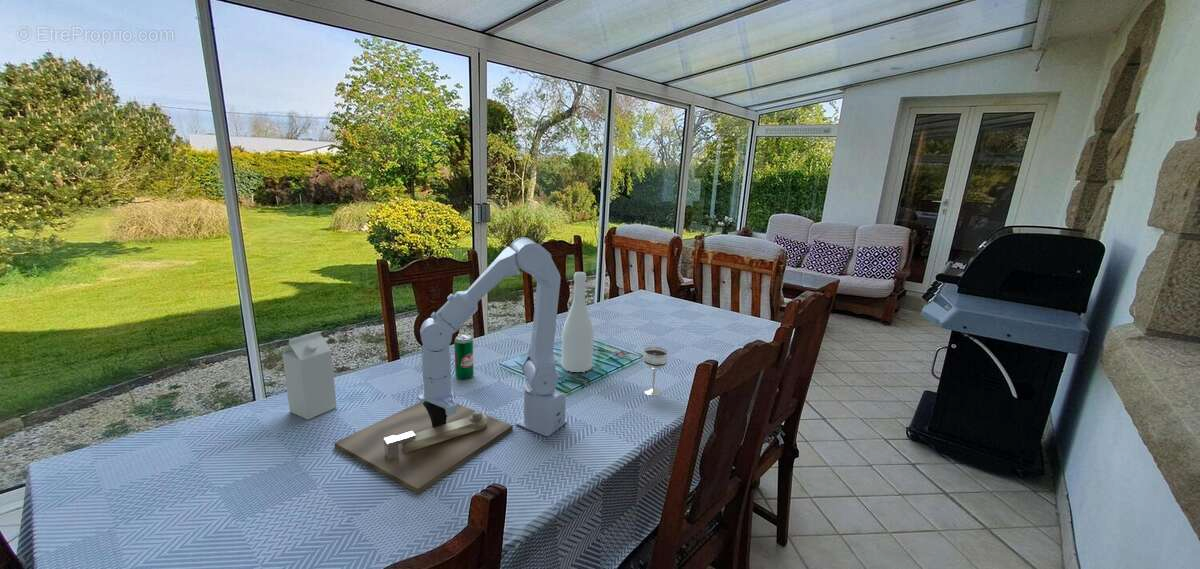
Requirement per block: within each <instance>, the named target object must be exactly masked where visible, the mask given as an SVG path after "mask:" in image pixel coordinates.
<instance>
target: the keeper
mask: <svg viewBox="0 0 1200 569" xmlns="http://www.w3.org/2000/svg"><path fill="white" fill-rule="evenodd" d="M413 439H416V435H415V434H414V432H413V431H410V432H407V433H404V434H400V435H397V436H395V435H392V436H389V437H386V438H384V449H385V456H386V458H387V459H388V461H389V460H392V459H395V458H398V457H399V450H398V444H401V443H404V442H407V441H410V440H413Z"/></svg>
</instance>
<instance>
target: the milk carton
mask: <svg viewBox="0 0 1200 569" xmlns="http://www.w3.org/2000/svg"><path fill="white" fill-rule="evenodd" d="M282 360H283V370H284V376H285V377H284V378H285V386H286V392H287V393H286V394H287V400H288V410H289V412H290V413H291V414H294V415H296V416H299V417H300V418H303V419H305V420H307V421H308V420H311V419H313V418H315V417H317V416H320V415H322V414H325V413H326V412H328V411H331V410H333V409H336V408H337V406H338V405H337V397H336V388H335V386H336V385H335V376H334V375H335V374H334V366H333V365H334V364H333V357H332V350H331V348H330V346H329V345H328V343H327V342H326V341H325V339H324V338H323V336H322V331H317V332H313V333H309V334H306V335H305V334H304V335H302V336H300V337H299V336H298V337H295V338H291V339H289V340H288V346H287V347H286V348H285V350H284V351H283V352H282Z"/></svg>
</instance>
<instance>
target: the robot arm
mask: <svg viewBox="0 0 1200 569" xmlns="http://www.w3.org/2000/svg"><path fill="white" fill-rule="evenodd" d="M552 257H553V256H552V253H550V252H549V251H548V250H547V249H545V248H544V247H543V246H542V245H541V244H539V243H536V242H535V241H534V240H532V239H531V238H528V237H525V236H524V237H523V236H521V237H517V238H516V239H515V240H513V241H512V242H511V244H510V246H507V247H505V248H504V249H503V250H502V251H501V252H500V254H499V255H497V257H496V258H495V259H494V260H493V261H492V262H491V263H490V264H489V266H488V267H487V268H486V269H485V270H484V271H483V272H482V273H481V274H480V275H479V276H478V277H477V279H476V280H474V282H473V283H472V284H471V285H470V286H469V288H467V290H461V291H459V290H458V291H456V292H455V293H454V294H452V293H450V294H449V295H448V296H447V301H446V302H445V303H444V304H443V305H442V306H441V307H440V308H439V309H438V310H437V311H436V312H435V311H433V312H432V313H431V314H430V317H429V318H426V319H425V320H424V321H423V322H422V324H421V326H420V329H419V333H420V340H421V343H422V346H421V351H422V353H421V365H422V366H421V367H422V368H421V371H422V380H421V382H420V388H421V390H422V394H420V395H418V396H417V399H418V402H423V405H424V406H425V408H426V410H427V412H428V414H429V416H430V419H431V422H432V427H433V428H434V427H437V426H441V425H444V424H446V419H447V416H449V415H452V414H455V413H457V408H456V404H455V403H456V402H455V397H454V390H453V388H452V387H453V385H452V362H451V361H452V357H451V356H452V354H451V351H450V345H451V343H452V340H453V334H455V333H456V332H458V331H459V329H461V328H462V327H463V326H464V325H465V324H466V323H467V322H468V321H469V319H471V318H472V317H473V315H475V313H476V312H478V311H479V310H478V308H479V306H478V305H479V304H478V303H479V302H480V300H482V299H483V298H484V296H486V295H487V294H488V293H489V292H490V291H491V290H492V289H493V288H495V286H497V285H498V284H499V283H500V282H501V281H502V280H504V278H506V277H510V276H519V275H521V274H522V273H521V271H520V269H521V270H522V271H524V273H525V272H526V273H527V274H529V275H530V276H532V278H533V279H534V280H535V281H536V289H535V301H534V311H533V319H532V320H533V322H532V333H531V341H530V342H531V343H530V347H529V348H528V350H527V356H526V359H525V360H524V361H523V364H522V367H521V368H522V374H523V375H524V377H525V378H526V381H525V384H524V385H523V417H522V418H520V419H519V420H517V421H516V422H515V425H517V426H518V427H522V428H524V429H527V430H529V431H531V432H535V433H536V434H540V435H543V436H545V437H549V436H551V435H552V434H553V433H554V432H556V431H557V430H558V429H560V428H561V427H562V426H564V425H565V424H566V423H568V422H567V421H568V420H567V419H566V397H565V395H564V394H562V393H561V392H559V391H558V390H557V389H556V388H557V386H558V385H559V384H558V383H559V376H558V375H557V372H556V367H557V365H556V359H555V354H554V346H555V345H554V344H555V335H556V327H557V317H558V316H557V315H558V306H559V299H560V298H559V297H560V288H561V274H560V272H559V270H558V268H557V266H556V264H555V262H554V260H553V258H552ZM424 401H425V402H424Z"/></svg>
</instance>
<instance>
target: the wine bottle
mask: <svg viewBox="0 0 1200 569" xmlns="http://www.w3.org/2000/svg"><path fill="white" fill-rule="evenodd" d="M573 281H574V284H573V300H572V303H571V306H570V309H569V311H568V315H567V317H566V320H565V322H564V325H563V328H562V334H561V367H562V369H563V370H565V371H566V372H568V371H570V372H569V373H571V372H583V373H586V372H585V371H587V372H589V371H590V370H591V369H592V367H593V361H594V358H593V357H594V355H593V354H594V336H595V335H594V334H595V332H594V327H593V323H592V321H591V320H592V319H591V318H590V314H589V310H588V307H587V303H586V281H587V274H586V272H584V271H576V272H574V273H573ZM588 370H589V371H588Z"/></svg>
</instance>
